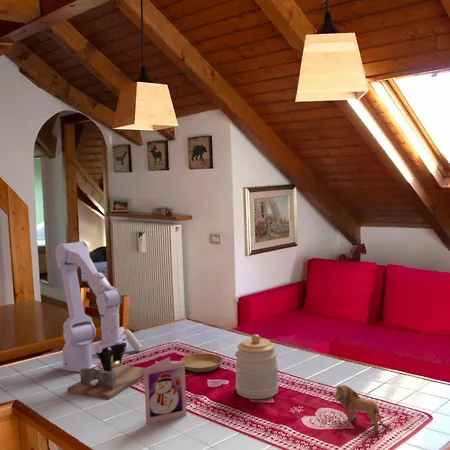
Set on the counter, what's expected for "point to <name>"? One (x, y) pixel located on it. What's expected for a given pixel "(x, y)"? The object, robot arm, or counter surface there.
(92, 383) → the brass knob with shaft
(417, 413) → the counter surface
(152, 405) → the greeting card
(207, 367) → the plant saucer
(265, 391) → the jar
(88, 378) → the wooden board
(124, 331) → the wall hook
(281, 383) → the counter surface
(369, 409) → the lion figurine
